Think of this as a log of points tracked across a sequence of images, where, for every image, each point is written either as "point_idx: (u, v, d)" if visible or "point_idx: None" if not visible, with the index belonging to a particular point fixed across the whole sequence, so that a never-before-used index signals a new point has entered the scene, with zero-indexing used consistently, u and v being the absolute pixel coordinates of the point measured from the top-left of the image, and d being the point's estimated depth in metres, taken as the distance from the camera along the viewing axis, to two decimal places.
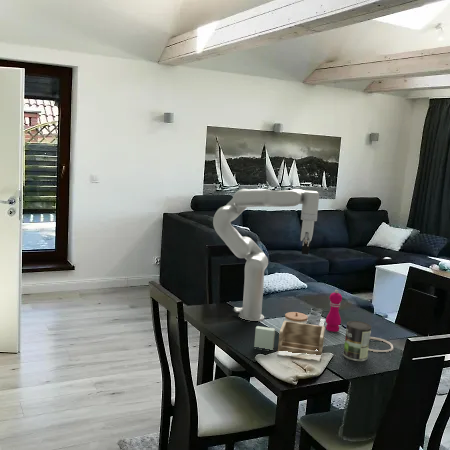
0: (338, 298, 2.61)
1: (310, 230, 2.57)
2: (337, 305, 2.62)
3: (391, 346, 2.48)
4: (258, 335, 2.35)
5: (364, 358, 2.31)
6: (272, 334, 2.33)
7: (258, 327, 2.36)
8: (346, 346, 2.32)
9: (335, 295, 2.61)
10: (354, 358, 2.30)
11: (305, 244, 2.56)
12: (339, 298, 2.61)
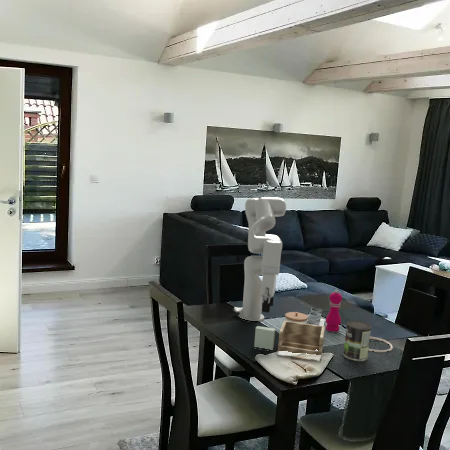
0: (338, 298, 2.61)
1: (271, 285, 2.27)
2: (337, 305, 2.62)
3: (390, 346, 2.48)
4: (258, 335, 2.35)
5: (364, 358, 2.31)
6: (272, 334, 2.33)
7: (258, 327, 2.36)
8: (346, 346, 2.32)
9: (335, 295, 2.61)
10: (354, 358, 2.30)
11: (265, 301, 2.26)
12: (339, 298, 2.61)
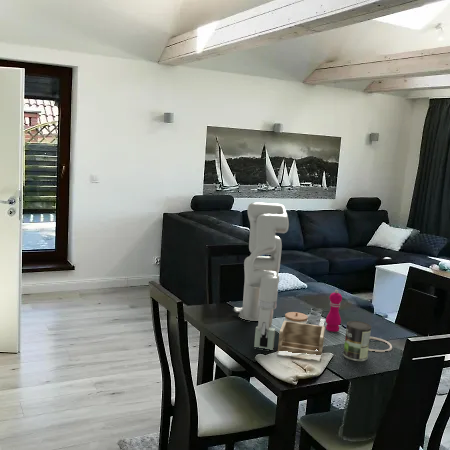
0: (338, 298, 2.61)
1: (268, 320, 2.29)
2: (337, 305, 2.62)
3: (390, 346, 2.48)
4: (258, 335, 2.35)
5: (364, 358, 2.31)
6: (272, 334, 2.33)
7: None
8: (346, 346, 2.32)
9: (335, 295, 2.61)
10: (354, 358, 2.30)
11: (263, 336, 2.32)
12: (339, 298, 2.61)
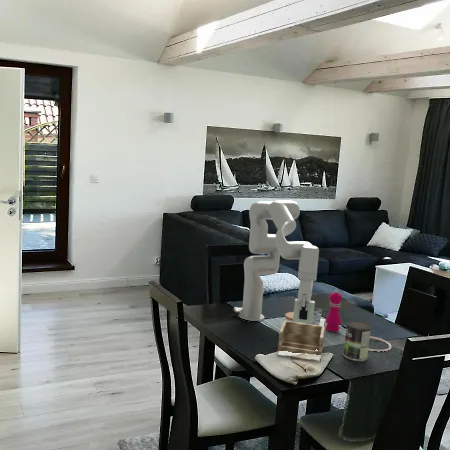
0: (338, 298, 2.61)
1: (308, 291, 2.23)
2: (337, 305, 2.62)
3: (389, 345, 2.49)
4: (297, 308, 2.28)
5: (364, 358, 2.31)
6: (312, 306, 2.27)
7: (297, 299, 2.29)
8: (346, 346, 2.32)
9: (335, 295, 2.61)
10: (354, 358, 2.30)
11: (303, 309, 2.25)
12: (339, 298, 2.61)
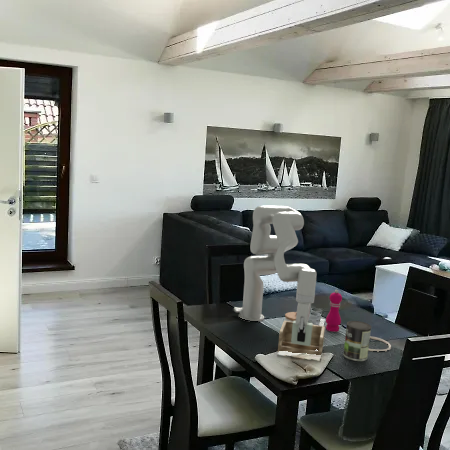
0: (338, 298, 2.61)
1: (306, 314, 2.25)
2: (337, 305, 2.62)
3: (389, 345, 2.49)
4: (295, 330, 2.30)
5: (364, 358, 2.31)
6: (310, 329, 2.28)
7: (295, 322, 2.31)
8: (346, 346, 2.32)
9: (335, 295, 2.61)
10: (354, 358, 2.30)
11: (301, 331, 2.27)
12: (339, 298, 2.61)
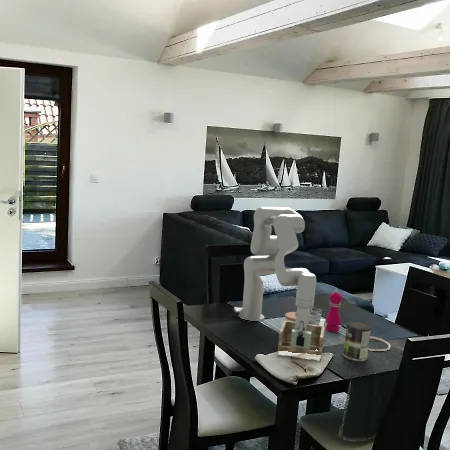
0: (338, 298, 2.61)
1: (306, 319, 2.25)
2: (337, 305, 2.62)
3: (388, 345, 2.49)
4: (294, 339, 2.31)
5: (364, 358, 2.31)
6: (309, 337, 2.29)
7: (294, 330, 2.32)
8: (346, 346, 2.32)
9: (335, 295, 2.61)
10: (354, 358, 2.30)
11: (300, 335, 2.25)
12: (339, 298, 2.61)
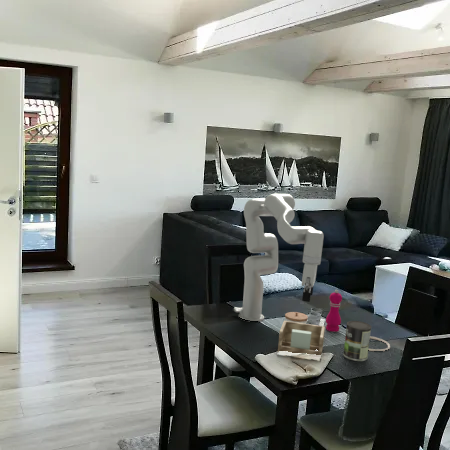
0: (338, 298, 2.61)
1: (312, 275, 2.29)
2: (337, 305, 2.62)
3: (388, 345, 2.49)
4: (294, 339, 2.31)
5: (364, 358, 2.31)
6: (309, 337, 2.29)
7: (294, 330, 2.32)
8: (346, 346, 2.32)
9: (335, 295, 2.61)
10: (354, 358, 2.30)
11: (306, 291, 2.28)
12: (339, 298, 2.61)
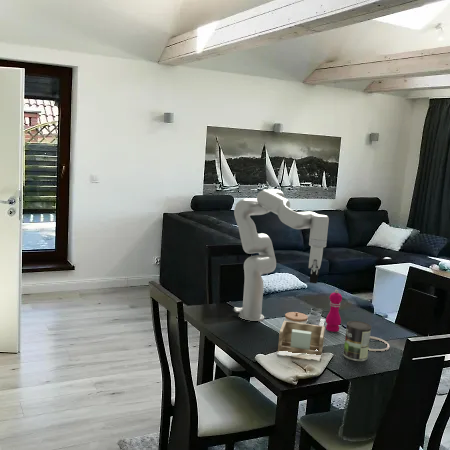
0: (338, 298, 2.61)
1: (319, 257, 2.38)
2: (337, 305, 2.62)
3: (387, 344, 2.49)
4: (294, 339, 2.31)
5: (364, 358, 2.31)
6: (309, 337, 2.29)
7: (294, 330, 2.32)
8: (346, 346, 2.32)
9: (335, 295, 2.61)
10: (354, 358, 2.30)
11: (313, 272, 2.37)
12: (339, 298, 2.61)
